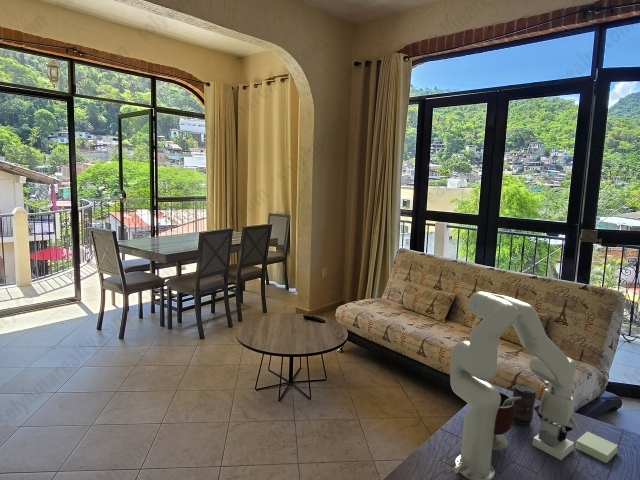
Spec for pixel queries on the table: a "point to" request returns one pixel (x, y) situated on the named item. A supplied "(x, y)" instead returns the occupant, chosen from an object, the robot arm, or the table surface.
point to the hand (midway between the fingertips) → (552, 435)
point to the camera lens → (523, 404)
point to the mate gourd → (503, 421)
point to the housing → (550, 432)
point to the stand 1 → (558, 450)
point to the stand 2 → (596, 446)
